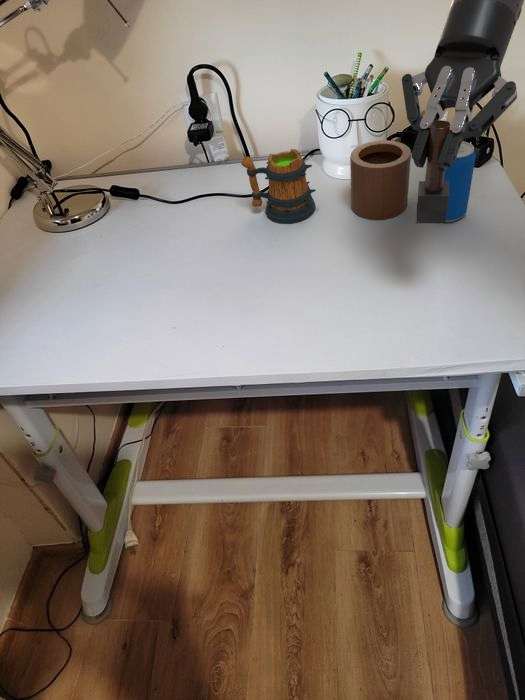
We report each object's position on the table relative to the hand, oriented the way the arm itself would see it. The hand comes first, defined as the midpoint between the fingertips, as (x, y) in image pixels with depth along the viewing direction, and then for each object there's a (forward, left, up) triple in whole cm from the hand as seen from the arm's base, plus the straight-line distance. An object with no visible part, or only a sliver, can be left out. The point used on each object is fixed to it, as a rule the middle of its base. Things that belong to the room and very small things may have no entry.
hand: (429, 166), depth 60 cm
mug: (+25, -25, -22) cm, 42 cm away
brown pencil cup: (+7, -27, -22) cm, 36 cm away
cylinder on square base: (-1, -2, -8) cm, 8 cm away
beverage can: (-5, -24, -22) cm, 33 cm away
